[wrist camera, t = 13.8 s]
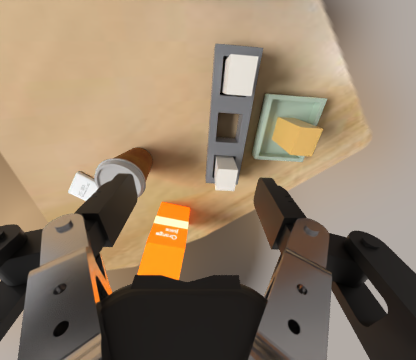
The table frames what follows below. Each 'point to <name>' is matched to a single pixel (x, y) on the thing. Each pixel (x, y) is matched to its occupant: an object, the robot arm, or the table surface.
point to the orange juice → (166, 242)
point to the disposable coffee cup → (126, 168)
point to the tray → (289, 108)
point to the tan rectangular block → (296, 136)
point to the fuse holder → (229, 110)
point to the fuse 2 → (239, 74)
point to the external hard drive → (82, 186)
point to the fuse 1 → (225, 173)
